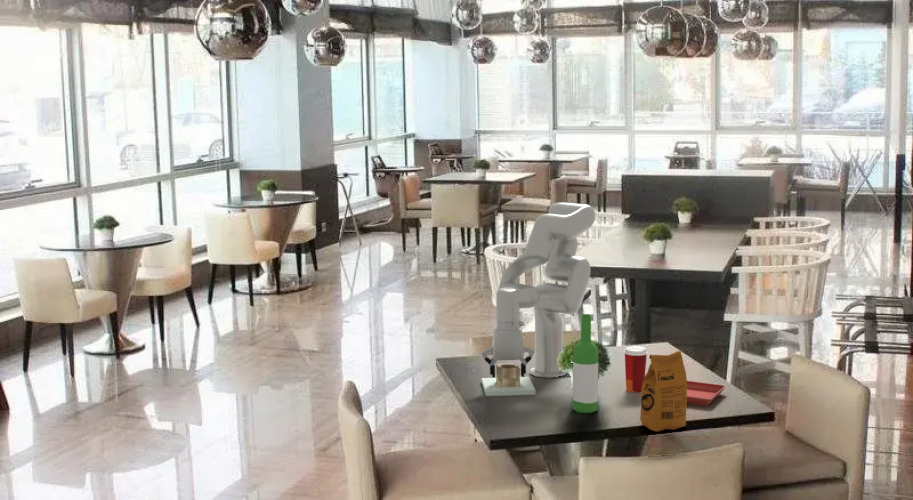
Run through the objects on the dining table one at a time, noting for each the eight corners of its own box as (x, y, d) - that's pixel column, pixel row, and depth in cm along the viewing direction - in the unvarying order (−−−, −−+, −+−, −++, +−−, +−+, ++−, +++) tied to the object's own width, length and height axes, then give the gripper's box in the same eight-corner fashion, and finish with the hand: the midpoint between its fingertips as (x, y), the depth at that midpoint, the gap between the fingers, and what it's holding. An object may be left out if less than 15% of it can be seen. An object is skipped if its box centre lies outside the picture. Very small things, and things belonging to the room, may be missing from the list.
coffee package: (635, 423, 332) (637, 351, 328) (671, 418, 336) (673, 347, 333) (653, 433, 323) (655, 359, 319) (690, 428, 327) (692, 354, 324)
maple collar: (517, 380, 373) (517, 363, 372) (519, 386, 366) (519, 368, 365) (496, 381, 372) (496, 363, 371) (498, 387, 366) (498, 369, 365)
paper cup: (649, 388, 368) (650, 347, 366) (643, 394, 361) (644, 352, 359) (626, 385, 371) (627, 344, 369) (619, 392, 364) (620, 350, 362)
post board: (528, 381, 378) (528, 365, 377) (535, 394, 362) (535, 378, 361) (481, 382, 377) (481, 366, 376) (486, 396, 361) (485, 379, 360)
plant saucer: (671, 387, 370) (671, 378, 370) (725, 394, 362) (726, 384, 361) (654, 402, 354) (654, 391, 354) (710, 409, 346) (710, 399, 345)
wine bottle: (578, 405, 350) (579, 311, 346) (601, 408, 346) (603, 313, 342) (568, 411, 344) (569, 316, 339) (591, 415, 340) (592, 318, 335)
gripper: (532, 322, 370) (532, 372, 373) (480, 323, 369) (480, 374, 372) (535, 327, 363) (535, 378, 366) (482, 328, 362) (482, 380, 364)
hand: (507, 376), depth 369 cm, fingers open, 9 cm apart
